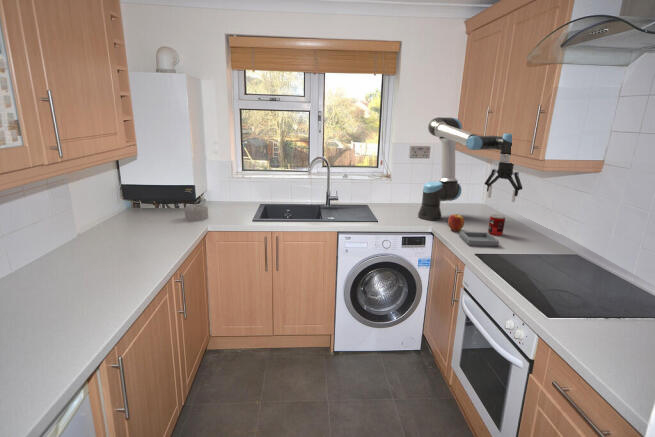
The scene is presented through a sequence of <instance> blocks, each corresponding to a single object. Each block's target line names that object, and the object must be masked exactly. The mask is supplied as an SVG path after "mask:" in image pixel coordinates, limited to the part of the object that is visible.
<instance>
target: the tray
mask: <svg viewBox="0 0 655 437" xmlns="http://www.w3.org/2000/svg"><path fill="white" fill-rule="evenodd" d="M459 238H460V239H461V240H462V241H463V242H465V244H466V245H467V246H469V247H492V248H498V247H499V246H500V244H499V243H500V241H499V240H498V239H496V238H495V237H494V235H491V234H489V233H488V231H463V230H460V231H459Z"/></svg>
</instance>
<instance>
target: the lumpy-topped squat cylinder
mask: <svg viewBox="0 0 655 437" xmlns="http://www.w3.org/2000/svg"><path fill="white" fill-rule="evenodd" d="M208 208H209V207H208V206H207V205H203V204H196V203H193V204H191V205H187V206H185V207H184V217H185V221H186V222H188V223H194V222H203V221H206V220H208V219H209V210H208Z"/></svg>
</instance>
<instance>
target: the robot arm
mask: <svg viewBox="0 0 655 437" xmlns="http://www.w3.org/2000/svg"><path fill="white" fill-rule="evenodd" d="M427 129H428V132H429V134H431V135H432V136H434V137H437V138H439V141H440V142H441V178H440V180H439V181H427V182H425V183H424V185H423V189H422V197H421V198H422V200H421V206H420V208H419V211H418V213H417V217H418V218H419V219H422V220H427V221H441V220H442V217H443V216H442V211H441V202H453V201H455V200H458V199H459V197H460V196H461V194H462V186H461V185H460V183H458V182H459V181H458V179H457V178H456V143H457V144H460V145H463V146H466V147H467V149H468V150H470V151H471V150H472V151H481V150H483V151H485V150H494V151H500V154H499V162H498V166H497V167H498V168H497V169H496V168H495V169H494V168H493V169H492V170H491V173H490V174H489V176H488V178H487V179H486V180H485V182H484V185H486V186H487V187H486V192H487V199H489V198H491V197H492V192H493V191H492V190H493V185H494V183H496V182H497V181H498V180H499V179H503V180H508V181H509V183H510V184H511V186H512V187H513V189H514V190H513V191H512V197H511V203H515V201H516V197H518V195H519V191H521V190H523V189H524V188H523V184H522V182H521V180H520V177H519V175H520V174H519V173H520V172H519V171H513V170H514V165H515V163H514V164H512V163H508V162H510V161H509V158H510V156H511V146H512V134H509V133H510V132H509V133H508V132H507V133H506V132H505V133H503V134H502V136H501V135H500V136H497V135H477V134H475V133H472V132H469V131H466V130H463V126H462V123H461V121H460V120H459V119H458V118H456V117H435V118H433V119H431V120H430V122H429V123H428V127H427ZM505 154H508V155H505ZM496 174H497V175H496ZM495 175H496V176H495ZM513 177H514V178H513ZM514 179H515V180H514Z"/></svg>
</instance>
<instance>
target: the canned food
mask: <svg viewBox="0 0 655 437" xmlns="http://www.w3.org/2000/svg"><path fill="white" fill-rule="evenodd" d="M505 222H506V215H503V214H498V213H492V214H490V216H489V221H488V228H487V232H488V233H489V234H491V235H492V236H493V237H494V236H496V237H500V236H503V234H504V227H505Z"/></svg>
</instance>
